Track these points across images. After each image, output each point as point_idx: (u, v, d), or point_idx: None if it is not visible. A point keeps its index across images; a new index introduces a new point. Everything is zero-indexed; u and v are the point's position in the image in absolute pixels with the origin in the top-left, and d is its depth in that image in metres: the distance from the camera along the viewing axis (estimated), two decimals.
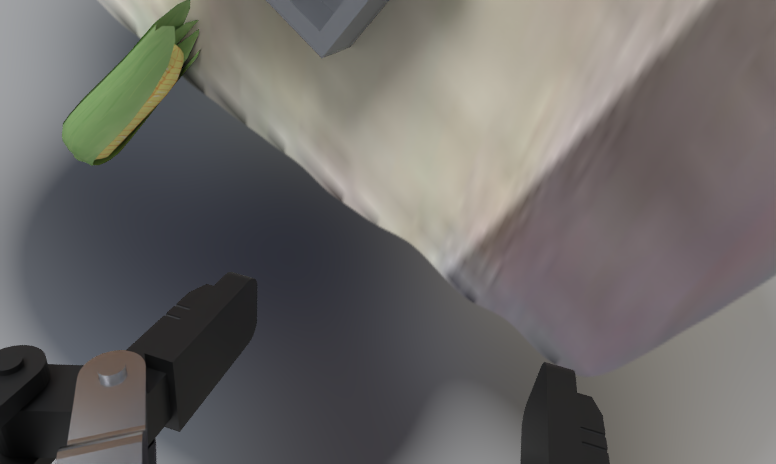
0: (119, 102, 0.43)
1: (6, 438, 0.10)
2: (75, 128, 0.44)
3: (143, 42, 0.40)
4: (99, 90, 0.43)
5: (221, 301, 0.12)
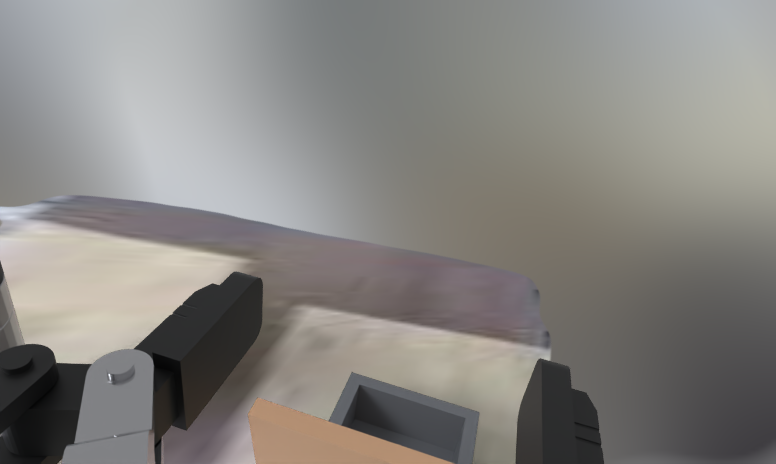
0: None
1: (14, 436, 0.10)
2: None
3: None
4: None
5: (227, 300, 0.12)
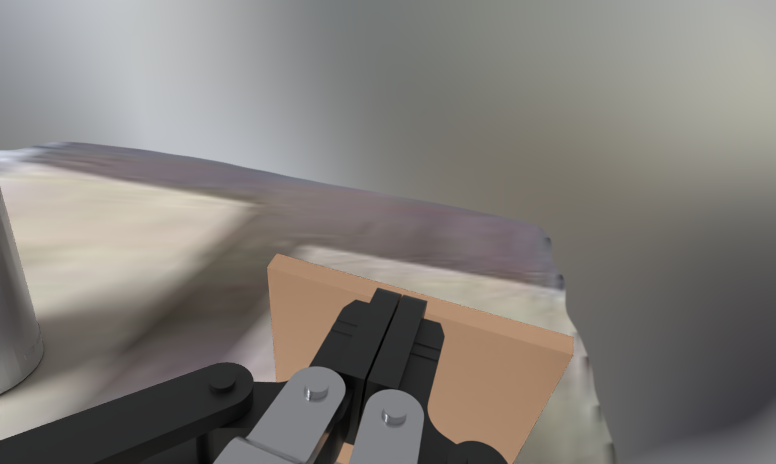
0: None
1: (199, 446, 0.10)
2: None
3: None
4: None
5: (383, 317, 0.13)
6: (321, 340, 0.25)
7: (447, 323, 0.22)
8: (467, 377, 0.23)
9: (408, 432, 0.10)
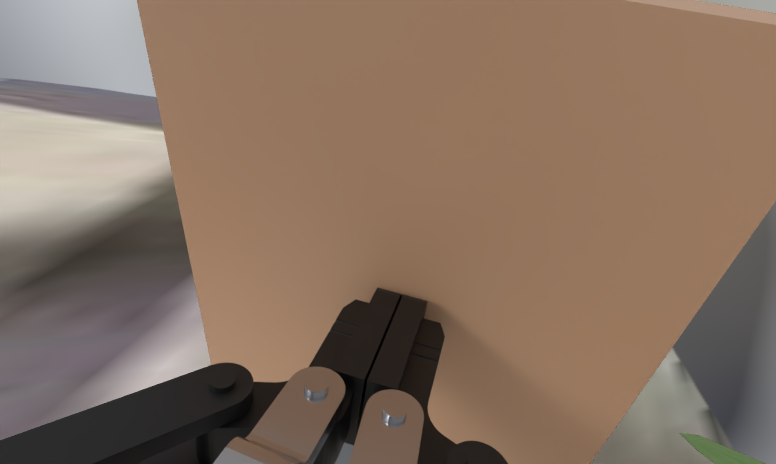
0: None
1: (199, 446, 0.10)
2: None
3: None
4: None
5: (383, 317, 0.13)
6: (257, 132, 0.12)
7: (542, 3, 0.09)
8: (571, 180, 0.11)
9: (408, 432, 0.10)
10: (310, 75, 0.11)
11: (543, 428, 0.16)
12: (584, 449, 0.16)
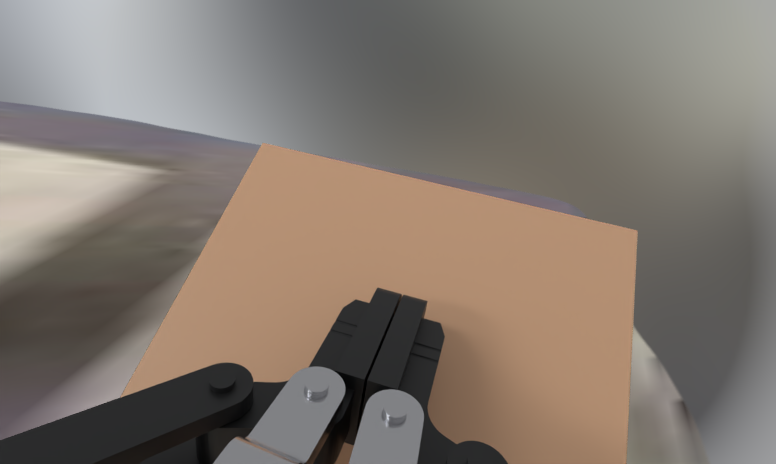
0: None
1: (199, 446, 0.10)
2: None
3: None
4: None
5: (383, 317, 0.13)
6: (286, 251, 0.17)
7: (481, 200, 0.18)
8: (509, 294, 0.16)
9: (408, 432, 0.10)
10: (342, 220, 0.17)
11: None
12: None
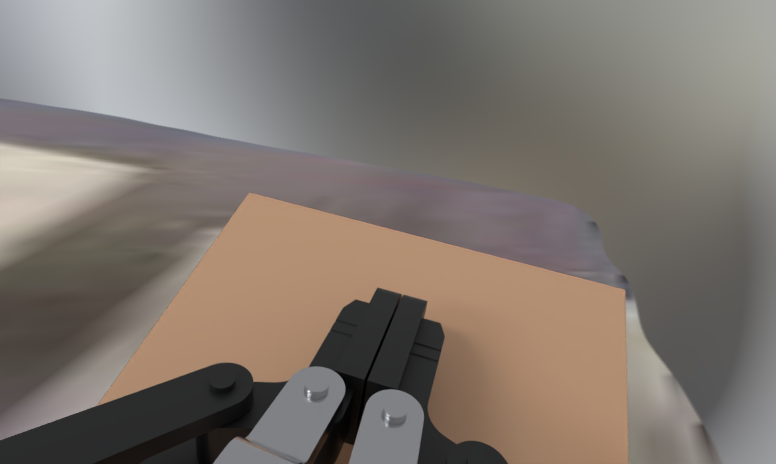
0: None
1: (199, 446, 0.10)
2: None
3: None
4: None
5: (383, 317, 0.13)
6: (265, 298, 0.16)
7: (467, 254, 0.17)
8: (497, 348, 0.15)
9: (408, 432, 0.10)
10: (326, 269, 0.17)
11: None
12: None
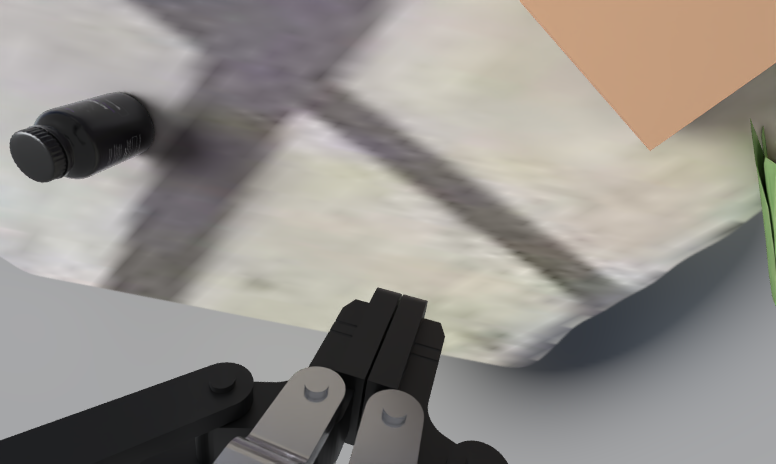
0: None
1: (199, 446, 0.10)
2: None
3: None
4: None
5: (383, 317, 0.13)
6: None
7: None
8: None
9: (408, 432, 0.10)
10: None
11: (689, 91, 0.33)
12: (695, 112, 0.33)
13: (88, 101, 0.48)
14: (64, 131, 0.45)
